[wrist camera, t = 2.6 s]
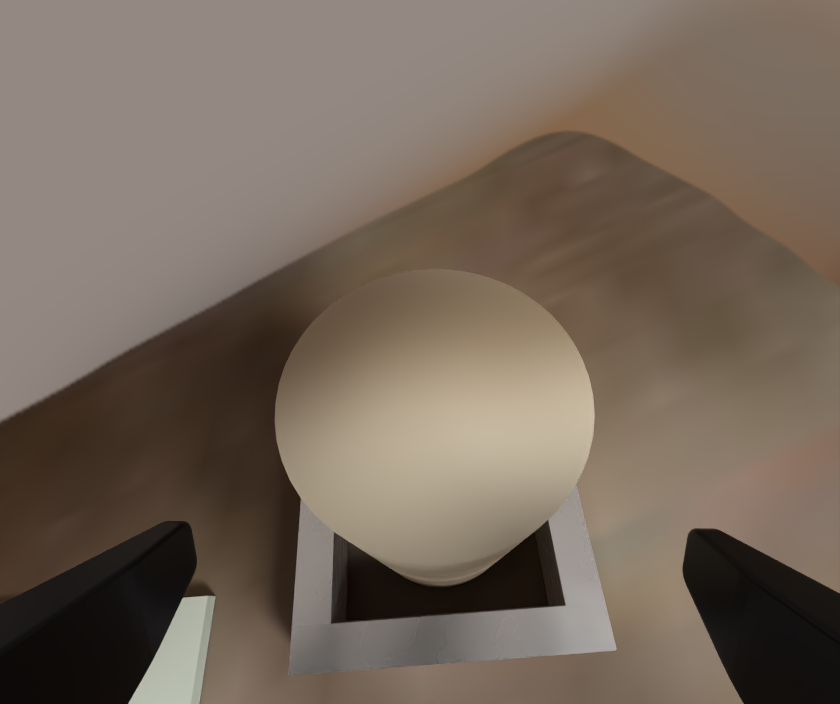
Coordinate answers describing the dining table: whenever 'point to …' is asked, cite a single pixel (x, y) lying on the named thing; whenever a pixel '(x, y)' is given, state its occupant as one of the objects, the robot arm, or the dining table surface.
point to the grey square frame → (449, 632)
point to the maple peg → (434, 421)
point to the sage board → (179, 657)
